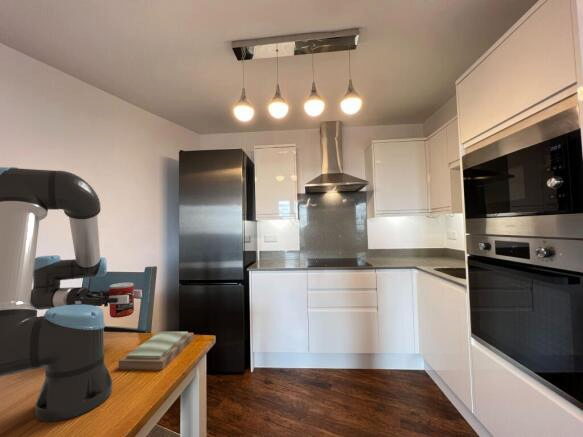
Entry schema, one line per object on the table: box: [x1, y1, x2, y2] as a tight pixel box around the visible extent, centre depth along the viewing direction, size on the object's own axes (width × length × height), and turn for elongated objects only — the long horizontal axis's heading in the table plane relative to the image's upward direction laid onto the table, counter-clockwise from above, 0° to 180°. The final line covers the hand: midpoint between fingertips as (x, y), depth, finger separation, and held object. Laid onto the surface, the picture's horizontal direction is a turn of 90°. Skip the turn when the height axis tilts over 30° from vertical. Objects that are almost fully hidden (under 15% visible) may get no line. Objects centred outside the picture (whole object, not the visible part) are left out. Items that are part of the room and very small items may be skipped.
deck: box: [118, 331, 195, 371], centre depth 94 cm, size 22×14×4 cm, turn 176°
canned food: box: [108, 282, 135, 319], centre depth 101 cm, size 8×8×11 cm
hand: (134, 296), depth 101 cm, fingers closed on canned food, 8 cm apart
